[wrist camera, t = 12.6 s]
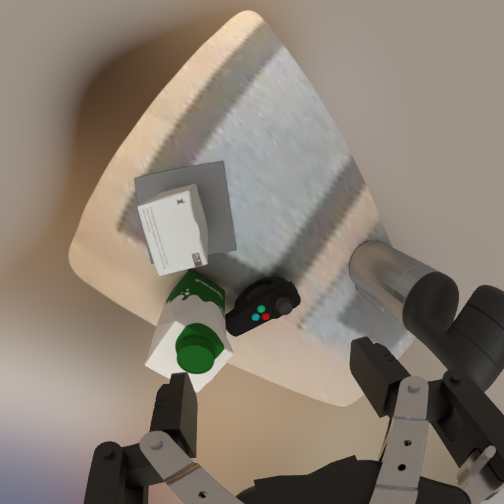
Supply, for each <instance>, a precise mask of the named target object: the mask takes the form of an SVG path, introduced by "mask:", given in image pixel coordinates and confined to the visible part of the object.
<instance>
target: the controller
mask: <svg viewBox="0 0 504 504" xmlns="http://www.w3.org/2000/svg"><path fill="white" fill-rule="evenodd" d="M300 302H301V299H300V296H299V294H298V291H297V289H296V287H295V285H294V284H293V283H292V281H290V282H288V281H287V280H285V279H283V278H281V277H270V278H266V279H263V280H260V281H258V282H256V283H254V284H253V285H251V286H250V287H248V288H247V289H246V290H245V291H244V292H243V293H242V294H241V295H240V296H239V297H238V298H237V300H236V302H235V307H234V309H233V310H232V311H230V312H229V313H227V314H225V324H226V330H227V331H228V332H229V333H230V334H231V335H233V336H235V337H237V336H239V335H241V334H243V333H245V332H247V331H249V330H251V329H253V328H255V327H257V326H259V325H261V324H263V323H265V322H267V321H269V320H271V319H277V318H279V317H281V316H282V315H287V314H289V313H290V312H291V311H292V309H294V308H295V307H297V306H298V305H299V304H300Z"/></svg>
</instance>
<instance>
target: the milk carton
mask: <svg viewBox="0 0 504 504" xmlns="http://www.w3.org/2000/svg"><path fill="white" fill-rule="evenodd" d="M232 355H233V350H232V348H231V346H230V344H229V342H228V339H227V337H226V324H225V291H224V290H222V289H221V288H219V287H218V286H216V285H215V284H213V283H211V282H210V281H208V280H207V279H205V278H204V277H202V276H201V275H199V274H198V273H196V272H195V271H193V270H192V269H190V270H189V271H188V272H187V273H186V275H185V276H184V277H183V278H182V280H181V281H180V282H179V283H178V285H177V286H176V287H175V289H174V290H173V291H172V293H171V294H170V296H169V297H168V299H167V300H166V302H165V305H164V307H163V310H162V313H161V315H160V318H159V321H158V324H157V327H156V330H155V332H154V334H153V341H152V344H151V347H150V350H149V353H148V356H147V360H146V362H145V366H147V367H149V368H150V369H152V370H154V371H156V372H158V373H159V374H161V375H163V376H165V377H167V378H169V379H170V378H171V374H172V373H181V372H187V373H188V375H189V377H190V380H191V383H192V385H193V388H194V391H196V392H199V391H200V390H201V389H202V388H203V387H204V385H206V383H207V382H210V381H211V380H212V379H213V378H214V376H215V375H216V374H217V372H218V371H219V370H220V369H221V368H222V367H223V366H224V364H225V363H226V362H227V361H228V360H229V359H230V358H231V356H232Z"/></svg>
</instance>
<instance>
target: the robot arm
mask: <svg viewBox="0 0 504 504" xmlns="http://www.w3.org/2000/svg"><path fill="white" fill-rule="evenodd" d="M349 273H350V277H351V279H352V280H353V282H354V283H355V284H356V290H358V291H359V292H360V293H361V294H362V295H363V296H364V297H365V298H366V299H368V300H369V301H370V302H371V303H372V304H373V305H374V306H375V307H376V308H378V309H379V310H380V311H382V312H383V311H387V312H388V313H390V314H391V315H392V316H393V317H394V318H395V319H396V320H398V321H399V322H400V323H401V324H402V325H403V326H404V327H405V328H406V329H407V330H409V331H410V332H411V333H412V334H413V335H414V336H416V337H417V338H418V339H419V340H420V341H421V342H422V343H424V344H425V345H426V346H427V347H428V348H429V349H430V350H431V351H432V352H433V353H434V355H435V356H436V357H437V358H438V359H439V360H440V361H441V362H442V363H443V365H444V366H445V367H446V368H447V369H448V371H446V372H445V373H444V375H443V378H442V379H440V380H435V381H430V382H427V381H426V380H425V379H423V378H421V377H418V376H411V375H410V374H409V373H408V372H407V370H406V369H405V368H404V367H403V366H402V365H401V364H400V362H399V361H398V360H397V359H396V358H395V357H394V356H393V355H392V354H391V352H390V351H389V350H388V349H387V348H386V347H385V346H383V345H381V344H379V343H375V344H373V343H372V341H371V340H370V339H369V338H368V337H367V336H365V337H362V338H358V339H355V340H352V342H351V352H350V370H351V373H352V375H353V377H354V378H355V380H356V381H357V383H358V384H359V386H360V387H361V389H362V391H363V392H364V394H365V395H366V397H367V398H368V400H369V402H370V403H371V405H372V406H373V408H374V410H375V411H376V412H377V414H378V416H379V417H380V418H381V417H384V416H386V415H388V416H389V418H390V419H389V422H388V426H387V430H386V434H385V438H384V441H383V445H382V448H381V451H380V454H379V457H378V460H377V461H374V460H357V459H356V457H355V455H353V456H351V457H347V458H344V459H341V460H338V461H336V462H332V463H330V464H328V465H326V466H324V467H322V468H320V469H318V470H317V471H315V472H313V473H311V474H308V475H292V476H291V475H290V476H275V477H269V478H263V479H257V480H254V483H255V486H252V487H250V488H248V489H246V490H244V491H242V492H241V493H239V494H238V495H237V496H234V495H233V494H231V493H230V492H229V491H228V490H227V489H225V488H224V487H223V486H222V485H221V484H220V483H218V482H217V481H216V480H215V479H214V478H213V477H212V476H211V475H210V474H209V473H208V472H206V471H205V470H204V469H203V468H202V467H201V466H200V465H199V464H197V463H194V462H193V461H192V460H191V459H190V458H196V440H197V438H196V437H197V397H196V394H195V391H194V388H193V385H192V383H191V380H190V377H189V375H188V373H187V372H181V373H172V374H171V378H170V383H169V384H163V385H162V386H161V388H160V389H159V390H158V392H157V396H156V401H155V406H154V407H155V408H154V411H153V416H152V421H151V426H150V431H149V433H147V434H145V435H144V436H143V437H142V439H141V440H140V443H138V444H134V445H130V446H126V447H121V446H120V445H119V444H117V443H115V442H111V441H110V442H109V441H108V442H104V443H101V444H100V445H99V446H97V448H96V449H95V451H94V455H93V460H92V463H91V468H90V473H89V477H88V483H87V488H86V494H85V499H84V504H148V489H149V485H154V484H158V483H162V482H166V484H167V485H168V486H169V487H170V488H171V490H172V491H173V492H174V493H175V494H176V495H177V496H178V498H180V500H181V501H182V502H183V503H184V504H479V503H480V502H482V501H483V500H488V499H490V498H491V497H493V496H494V495H495V494H497V493H498V492H499V491H500V490H501V489H502V488H504V415H503V414H502V413H501V411H500V410H499V409H498V408H497V407H496V406H495V404H494V403H493V402H492V401H491V400H490V399H489V398H488V397H487V396H486V394H485V393H484V392H485V391H486V390H487V389H488V388H489V387H490V386H491V385H492V384H493V382H494V381H495V380H496V378H497V377H498V375H499V374H500V372H502V370H503V369H504V292H503V291H502V290H499V289H498V288H495V287H493V286H489V285H482V286H479V287H478V288H477V289H476V290H475V291H474V293H473V294H472V296H471V297H470V299H469V300H468V301H467V303H466V305H465V306H464V308H463V309H462V311H461V312H460V314H459V315H458V316H457V318H456V319H455V321H454V317H455V314H456V311H457V307H458V302H459V291H458V287H457V285H456V283H455V282H454V281H453V279H451V278H450V277H448V276H447V275H445V274H443V273H441V272H439V271H437V270H435V269H433V268H431V267H430V266H428V265H426V264H424V263H422V262H420V261H418V260H416V259H414V258H412V257H410V256H408V255H406V254H404V253H402V252H400V251H398V250H396V249H394V248H392V247H390V246H388V245H386V244H384V243H382V242H379V241H375V240H374V241H368V242H365V243H363V244H362V245H360V246H359V247H358V248H357V249H356V251H355V252H354V254H353V255H352V258H351V260H350V265H349ZM453 321H454V322H453ZM429 423H431V425H432V426H433V428H434V429H435V430H436V432H437V434H438V435H439V437H440V438H441V440H442V442H443V443H444V445H445V446H446V448H447V449H448V451H449V452H450V454H451V456H452V457H453V459H454V460H455V462H456V463H457V465H458V467H459V470H458V472H457V480H458V482H457V483H458V486H459V487H456V486H453V485H449V484H445V483H442V482H438V481H434V480H431V479H428V478H425V477H422V476H420V473H421V469H422V464H423V458H424V453H425V447H426V439H427V433H428V424H429Z"/></svg>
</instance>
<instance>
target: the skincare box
mask: <svg viewBox="0 0 504 504" xmlns="http://www.w3.org/2000/svg"><path fill="white" fill-rule="evenodd" d="M138 211H139V214H140V218H141V222H142V226H143V229H144V233H145V236H146V239H147V243H148V246H149V249H150V252H151V255H152V258H153V261H154V264H155V267H156V270H157V273H158V275H159V276H162V275H166V274H170V273H174V272H178V271H182V270H186V269H190V268H194V267H199V266H203V265H207V264H208V227H207V222H206V218H205V214H204V210H203V207H202V203H201V199H200V196H199V193H198V188H197V184H191V185H187V186H183V187H179V188H175V189H172V190H168V191H164V192H161V193H159V194H158V195H156V196H154V197H152V198H151V199H149V200H147V201H146V202H144V203H142V204H141V205H139V206H138Z"/></svg>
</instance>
